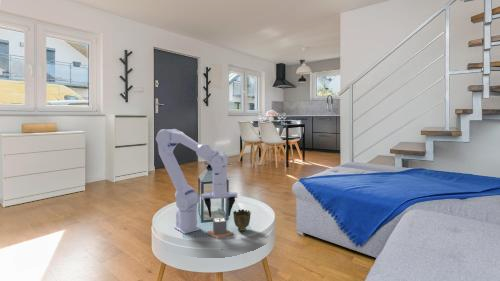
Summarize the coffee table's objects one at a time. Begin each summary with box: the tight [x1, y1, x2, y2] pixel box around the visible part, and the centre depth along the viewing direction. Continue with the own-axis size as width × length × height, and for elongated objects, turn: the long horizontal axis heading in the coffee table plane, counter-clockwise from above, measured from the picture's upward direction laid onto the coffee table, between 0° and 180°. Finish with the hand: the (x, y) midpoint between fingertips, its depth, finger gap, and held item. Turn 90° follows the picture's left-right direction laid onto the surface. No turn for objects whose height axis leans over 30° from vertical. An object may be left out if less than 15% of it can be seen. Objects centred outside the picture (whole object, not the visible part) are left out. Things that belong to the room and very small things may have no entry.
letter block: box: [212, 217, 228, 235], centre depth 116 cm, size 5×5×5 cm
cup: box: [232, 209, 252, 232], centre depth 119 cm, size 8×7×8 cm
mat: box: [205, 229, 234, 240], centre depth 116 cm, size 8×8×1 cm
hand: (219, 215), depth 116 cm, fingers open, 7 cm apart
